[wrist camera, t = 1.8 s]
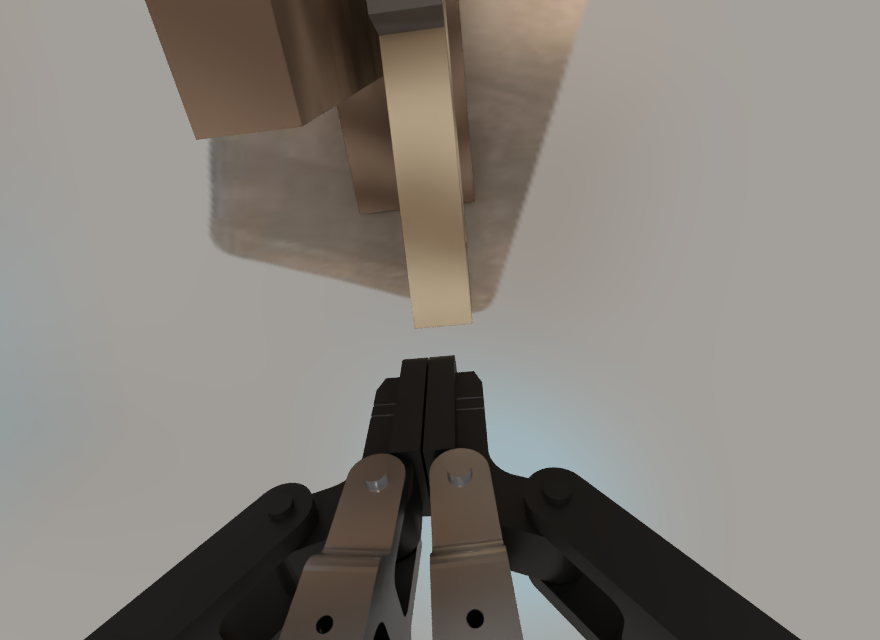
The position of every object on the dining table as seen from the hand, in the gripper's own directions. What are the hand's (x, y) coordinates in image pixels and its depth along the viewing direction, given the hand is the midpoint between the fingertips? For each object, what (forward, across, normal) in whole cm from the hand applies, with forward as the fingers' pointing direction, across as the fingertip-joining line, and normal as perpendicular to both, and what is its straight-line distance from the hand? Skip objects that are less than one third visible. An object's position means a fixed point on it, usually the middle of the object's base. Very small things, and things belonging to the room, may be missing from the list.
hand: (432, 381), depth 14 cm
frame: (+25, 0, -4) cm, 26 cm away
